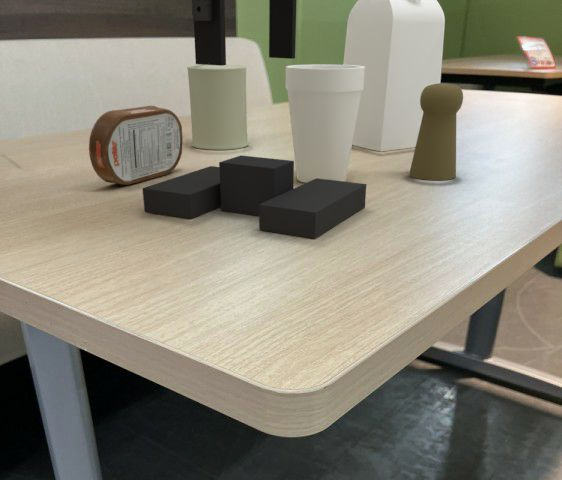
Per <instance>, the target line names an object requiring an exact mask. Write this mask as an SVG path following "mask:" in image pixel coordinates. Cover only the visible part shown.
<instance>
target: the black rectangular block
mask: <svg viewBox="0 0 562 480" xmlns="http://www.w3.org/2000/svg"><path fill="white" fill-rule="evenodd" d="M218 167H219V170H220V193H221V206H220V208H221V209H220V210H221V211H223V212H228V213H236V214H242V215H250V216H257V217H259V204H261V203H264V202H266V201H268V200H270V199H272V198H274V197H277V196H279V195H281V194H283V193H285V192H287V191H290V190H292V189H294V188H295V187H294V184H295V183H294V182H295V180H294V179H295V160H287V159H281V158H280V159H279V158H269V157H260V156H250V155H238V156H235V157H231V158H229V159H226V160H223V161H219V163H218Z"/></svg>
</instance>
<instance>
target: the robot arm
mask: <svg viewBox="0 0 562 480" xmlns="http://www.w3.org/2000/svg"><path fill="white" fill-rule="evenodd" d="M297 1H298V0H269V1H268V2H269V4H268V5H269V8H268V9H269V11H268V12H269V13H268V15H269V16H268V17H269V18H268V58H271V59H287V60H288V59H291V60H292V59H296V42H297V41H296V39H297V37H296V36H297ZM225 2H226V1H225V0H191V16H192V19H193V36H194V37H193V38H194V57H195V65H198V64H202V65H219V66H223V65H227V46H226V43H227V42H226V10H225Z"/></svg>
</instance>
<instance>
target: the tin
mask: <svg viewBox="0 0 562 480" xmlns="http://www.w3.org/2000/svg"><path fill="white" fill-rule="evenodd" d="M183 143H184V142H183V126H182V123H181V121H180V119H179V117H178V116H177V114H176V113H174V111H172V110H170V109H167V108H163V107H158V106H156V105H144V106H138V107H129V108H122V109H114V110H113V109H112V110H108V111H106V112H104V113H103V114H101V115H100V116H99V117H98V119H97V120H96V121H95V123H94V124H93V127H92V129H91V131H90V134H89V140H88V155H89V160H90V163H91V166H92V168H93V170H94V172H95V174H96V175H97V176H98V177H99V178H100V179H101V180H103V181H104V182H107V183H110V184H117V185H124V186H127V185H128V186H129V185H133V184H137V183H140V182H143V181H147V180H151V179H154V178H159V177H162V176H166V175H169V174H171V172H173V171H174V170H175V169H176V167H177V166H178V164H179V162H180V161H181V158H182V154H183Z"/></svg>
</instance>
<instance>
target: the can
mask: <svg viewBox="0 0 562 480" xmlns="http://www.w3.org/2000/svg"><path fill="white" fill-rule="evenodd" d="M186 69H187V76H188V77H187V79H188V88H189V91H188V92H189V103H190V104H189V105H190V117H191V118H190V120H191V122H190V123H191V146H192V147H193V148H196V149H200V150H207V151H208V150H209V151H225V150H226V151H229V150H238V149H243V148H247V147H248V146H249V141H248V123H247V122H248V121H247V119H248V117H247V66H246V65H239V64H238V65H237V64H226V65H223V66H219V65H202V64H194V65H188V66H187V67H186Z"/></svg>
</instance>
